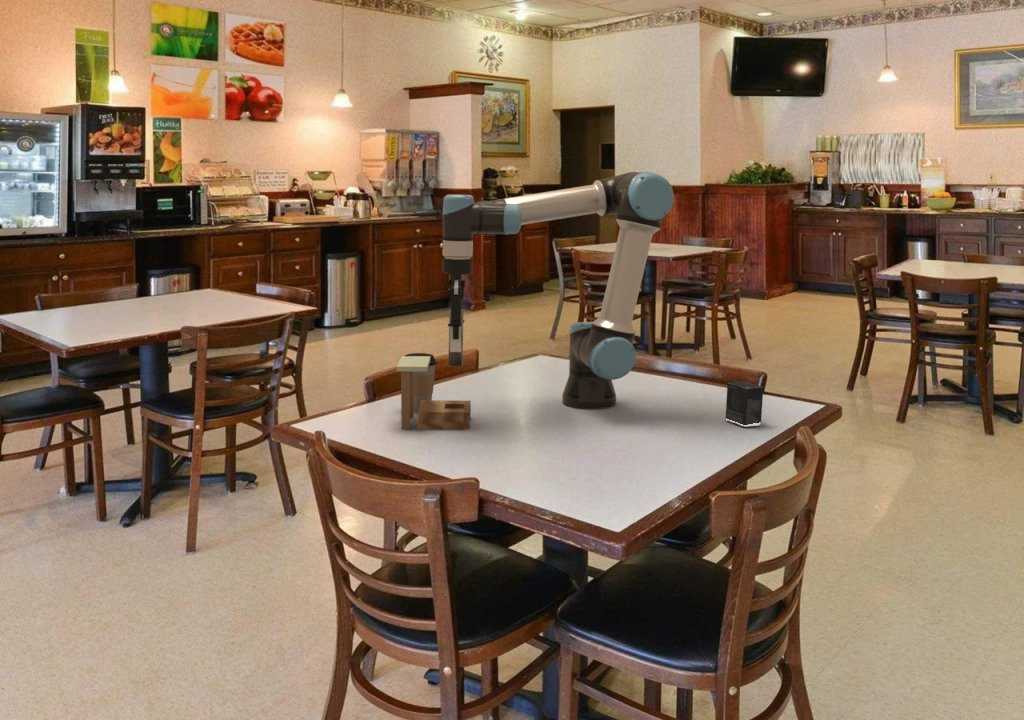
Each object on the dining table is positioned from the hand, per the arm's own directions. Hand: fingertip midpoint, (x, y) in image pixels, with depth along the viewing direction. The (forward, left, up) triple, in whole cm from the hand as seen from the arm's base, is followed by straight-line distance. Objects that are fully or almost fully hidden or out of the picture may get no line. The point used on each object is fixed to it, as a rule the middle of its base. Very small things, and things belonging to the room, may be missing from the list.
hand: (455, 349), depth 237 cm
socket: (+3, 0, -19) cm, 20 cm away
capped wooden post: (+11, 0, -19) cm, 22 cm away
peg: (0, 0, -4) cm, 4 cm away
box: (-75, -1, -19) cm, 77 cm away
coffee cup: (+10, -13, -19) cm, 26 cm away
